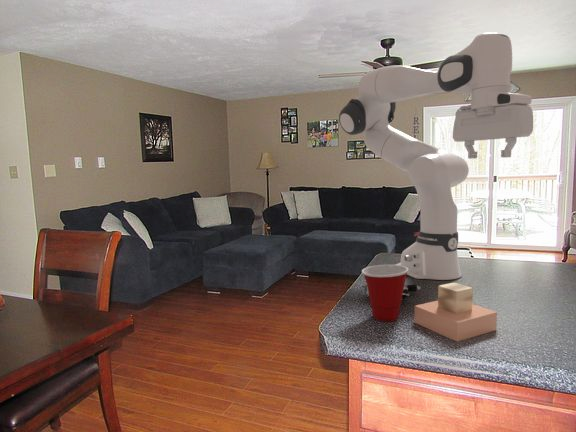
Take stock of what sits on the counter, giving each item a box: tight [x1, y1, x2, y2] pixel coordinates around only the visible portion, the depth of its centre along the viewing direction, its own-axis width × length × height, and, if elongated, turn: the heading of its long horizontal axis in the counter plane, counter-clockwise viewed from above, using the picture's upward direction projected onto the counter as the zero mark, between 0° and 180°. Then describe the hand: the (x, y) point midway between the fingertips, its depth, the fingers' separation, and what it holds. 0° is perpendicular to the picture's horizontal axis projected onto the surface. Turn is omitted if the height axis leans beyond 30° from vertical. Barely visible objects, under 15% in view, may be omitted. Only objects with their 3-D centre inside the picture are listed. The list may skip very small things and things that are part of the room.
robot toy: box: [359, 281, 421, 301], centre depth 113 cm, size 12×4×15 cm
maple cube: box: [437, 282, 474, 314], centre depth 92 cm, size 5×5×5 cm
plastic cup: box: [361, 264, 408, 322], centre depth 98 cm, size 11×11×12 cm
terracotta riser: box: [414, 300, 498, 342], centre depth 92 cm, size 12×12×4 cm
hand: (488, 158), depth 104 cm, fingers open, 8 cm apart
